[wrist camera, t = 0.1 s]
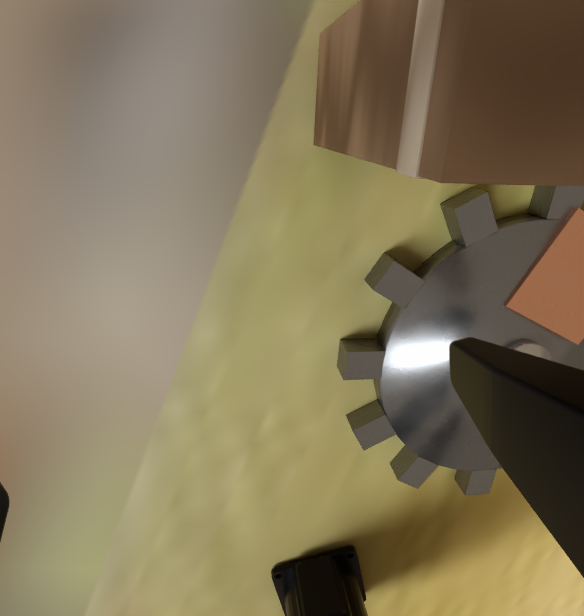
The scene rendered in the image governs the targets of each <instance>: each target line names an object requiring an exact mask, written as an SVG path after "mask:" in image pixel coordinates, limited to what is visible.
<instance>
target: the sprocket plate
mask: <svg viewBox="0 0 584 616" xmlns="http://www.w3.org/2000/svg"><path fill="white" fill-rule="evenodd" d="M583 201H584V186H546V185H536V186H535V189H534V193H533V196H532V200H531V204H530V207H529V211H528V213H530V214H522V215H516V216H511V217H505V218H502V219H499V220H496V221H495V217H494V213H493V210H492V206H491V202H490V199H489V195H488V192H486V191H482V190H479V189H475V188H472V187H471V188H469V189H467V190H466V191H464V192H462V193H460V194H458V195H456V196H454V197H452V198H450V199H449V200H447V201H445V202H443V203H441V204H440V205H441V208H442V211H443V214H444V217H445V220H446V223H447V226H448V229H449V232H450V235H451V238H452V240H453V241H451V242H449V243H448V244H447V245H445V246H444V247H443V248H441V249H440V250H439V251H437V252H436V253H435V254H434V255H432V256H431V257H430V258H429V259H428V260H427V261H426V262H425V263H424V264H423V265H422V266H421V267H419V268H418V269H417V270H416V272H415V273H414V272H413V271H411V270H410V269H408V268H406V267H405V266H403V265H402V264H400V263H399V262H397V261H396V260H394V259H393V258H391V257H390V256H388V255H387V254H385V253H383V255H382V256H381V257H380V259H379V260H378V262H377V263H376V264H375V266H374V267H373V268H372V270H371V271H370V273H369V274H368V275H367V277H366V278H365V281H366V282H367V283H368V285H369V286H370V287H371V288H372V289H373V290H374V291H376V292H378V293H379V294H381V295H382V296H384V297H386V298H387V299H389V300H391V301H392V304H391V306H390V308H389V310H388V312H387V314H386V316H385V318H384V320H383V323H382V326H381V329H380V331H379V334H378V337H377V339H340V345H339V353H338V362H337V367H338V369H339V372H340V374H341V376H342V378H343V380H360V379H374V386H375V390H376V395H377V398H378V400H376V401H374V402H372V403H370V404H368V405H366V406H364V407H362V408H360V409H358V410H356V411H354V412H352V413H350V414H348V415H346V416H347V419H348V421H349V423H350V426H351V428H352V431H353V432H354V434H355V436H356V438H357V439H358V441H359V443H360V445H361V446H362V448H363V450H366V449H368V448H370V447H372V446H374V445H376V444H378V443H380V442H382V441H384V440H386V439H388V438H390V437H392V436H394V435H396V434H397V436H398V437H399V438H400V439H401V441H402V442H403V443H404V444H405V446H404V448H403V449H402V450H401V451H400V452H399V453H398V455H397V456H396V457H395V458H394V459H393V460H392V462H391V463H390V465H391V467H392V469H393V471H394V473H395V475H396V477H397V479H398V481H401V482H403V483H406V484H408V485H410V486H413V487H415V488H417V489H418V488H419V487H420V486H421V485H422V484H423V482H424V481H425V480H426V479H427V478H428V477H429V476H430V475H431V474H432V473H433V471H434V470H435V469H436V468H437V467H438V465H440V466H444V467H448V468H453V469H457V472H456V475H455V480H456V482H457V484H458V485H459V487H460V488H461V490H462V491H463V493H464V494H465V495H475V494H487V493H489V491H490V488H491V485H492V482H493V479H494V476H495V473H496V470H497V469H498V468H502V466H501V465H500V464H499V462H498V461H497V460H496V458H495V457H494V455H493V454H492V452H491V451H490V449H489V448H488V446H487V444H486V443H485V441H484V439H483V438H482V436H481V434H480V432H479V431H478V429H477V427H476V426H475V424H474V422H473V420H472V419H471V417H470V415H469V414H468V412H467V410H466V408H465V407H464V405H463V403H462V402H461V400H460V398H459V396H458V395H457V393H456V391H455V389H454V388H453V385H452V383H451V379H450V363H449V346H450V344H451V342H452V341H456V340H459V339H463V338H467V337H473V338H477V339H480V340H483V341H487V342H490V343H494V344H497V345H500V346H504V347H507V348H510V349H514V350H517V351H521V352H524V353H527V354H531V355H534V356H537V357H541V358H544V359H548V360H551V361H554V362H558V363H561V364H564V365H568V366H571V367H575V368H578V369H581V370H584V211H583V210H581V207H582V204H583ZM378 401H379V402H378ZM379 403H380V404H379ZM391 426H392V427H391ZM392 428H393V429H392ZM394 431H395V432H394ZM395 433H396V434H395Z"/></svg>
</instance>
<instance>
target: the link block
mask: <svg viewBox="0 0 584 616" xmlns="http://www.w3.org/2000/svg"><path fill="white" fill-rule="evenodd" d="M314 145H316V146H319V147H323V148H326V149H329V150H333V151H336V152H339V153H343V154H346V155H349V156H353V157H356V158H359V159H363V160H366V161H369V162H373V163H376V164H379V165H383V166H386V167H389V168H393V169H396V172H397V173H400V174H403V175H407V176H410V177H413V178H421V179H429V180H433V181H436V182H439V183H465V184H505V185H546V186H584V0H361V1H359V2H358V3H357V4H356V5H354V6H353V7H352V8H351V9H350V10H348V11H347V12H346V13H345V14H344V15H342V16H341V17H340V18H339V19H337V20H336V21H335V22H334V23H333V24H331V25H330V26H329V27H328V28H327V29H325V30H324V31H323V32H322V33H320V44H319V61H318V78H317V95H316V112H315V129H314Z"/></svg>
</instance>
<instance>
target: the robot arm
mask: <svg viewBox="0 0 584 616" xmlns="http://www.w3.org/2000/svg"><path fill="white" fill-rule="evenodd" d="M449 363H450V379H451V383H452V385H453V388H454V389H455V391H456V393H457V395H458V396H459V398H460V400H461V402H462V403H463V405H464V407H465V408H466V410H467V412H468V414H469V415H470V417H471V419H472V420H473V422H474V424H475V426H476V427H477V429H478V431H479V432H480V434H481V436H482V438H483V439H484V441H485V443H486V444H487V446H488V448H489V449H490V451H491V452H492V454H493V455H494V457H495V458H496V460H497V461H498V462H499V464H500V465H501V466H502V468H503V469H504V471H505V472H506V473H507V475H508V476H509V477H510V479H511V480H512V481H513V483H514V484H515V485H516V487H517V488H518V489H519V491H520V492H521V494H522V495H523V496H524V498H525V499H526V500H527V502H528V503H529V504H530V506H531V507H532V508H533V510H534V511H535V512H536V514H537V515H538V517H539V518H540V519H541V521H542V522H543V523H544V525H545V526H546V527H547V529H548V530H549V531H550V533H551V534H552V535H553V537H554V538H555V540H556V541H557V542H558V544H559V545H560V546H561V548H562V549H563V550H564V552H565V553H566V554H567V556H568V557H569V558H570V560H571V561H572V563H573V564H574V565H575V567H576V568H577V569H578V571H579V572H580V573H581V575H582V576H583V577H584V370H581V369H578V368H575V367H571V366H568V365H564V364H561V363H558V362H554V361H551V360H548V359H544V358H541V357H537V356H534V355H531V354H527V353H524V352H521V351H517V350H514V349H510V348H507V347H504V346H500V345H497V344H494V343H490V342H487V341H483V340H480V339H477V338H473V337H467V338H463V339H459V340H456V341H452V342H451V344H450V346H449ZM8 508H9V496H8V493H7V491H6V490H5V489H4V487H3V486H2V485H1V483H0V541H1V537H2V533H3V529H4V525H5V521H6V517H7V513H8ZM271 574H272V580H273V583H274V585H275V588H276V591H277V594H278V597H279V600H280V602H281V605H282V608H283V611H284V614H285V616H368V615H367V611H366V608H365V604H364V601H365V600H366V595H365V590H364V585H363V581H362V576H361V571H360V566H359V561H358V557H357V553H356V549H355V547H353V546H348V547H345V548H341V549H337V550H334V551H330V552H327V553H323V554H320V555H316V556H313V557H309V558H306V559H302V560H299V561H295V562H292V563H288V564H285V565H281V566H278V567H275V568H273V569H272V571H271Z"/></svg>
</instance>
